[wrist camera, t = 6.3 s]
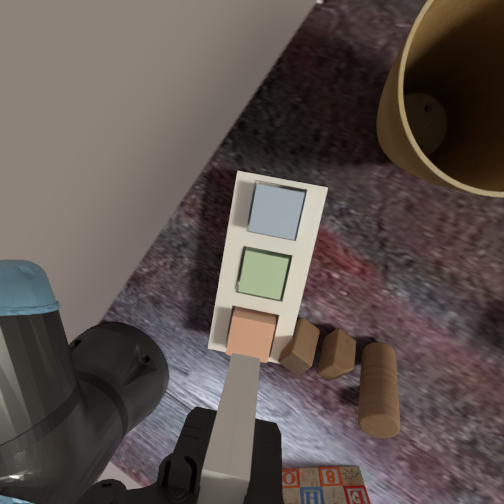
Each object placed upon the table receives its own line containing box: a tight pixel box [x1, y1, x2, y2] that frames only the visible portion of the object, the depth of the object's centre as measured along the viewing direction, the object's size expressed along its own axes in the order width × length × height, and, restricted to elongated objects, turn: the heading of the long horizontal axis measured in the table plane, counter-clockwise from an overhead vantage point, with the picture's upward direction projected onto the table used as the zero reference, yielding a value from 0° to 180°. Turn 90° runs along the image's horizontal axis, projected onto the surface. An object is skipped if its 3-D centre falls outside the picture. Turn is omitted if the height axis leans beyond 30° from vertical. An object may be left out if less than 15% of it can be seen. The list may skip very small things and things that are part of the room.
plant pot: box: [376, 0, 504, 197], centre depth 25 cm, size 15×15×16 cm
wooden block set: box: [278, 317, 400, 438], centre depth 36 cm, size 18×9×10 cm, turn 53°
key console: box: [208, 171, 328, 364], centre depth 36 cm, size 10×22×4 cm, turn 170°
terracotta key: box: [226, 306, 276, 363], centre depth 36 cm, size 5×5×4 cm
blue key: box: [248, 184, 305, 240], centre depth 32 cm, size 5×5×4 cm
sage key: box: [238, 247, 289, 300], centre depth 35 cm, size 5×5×4 cm
